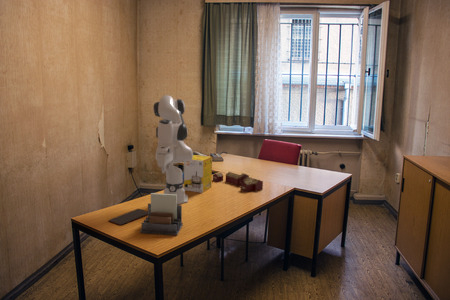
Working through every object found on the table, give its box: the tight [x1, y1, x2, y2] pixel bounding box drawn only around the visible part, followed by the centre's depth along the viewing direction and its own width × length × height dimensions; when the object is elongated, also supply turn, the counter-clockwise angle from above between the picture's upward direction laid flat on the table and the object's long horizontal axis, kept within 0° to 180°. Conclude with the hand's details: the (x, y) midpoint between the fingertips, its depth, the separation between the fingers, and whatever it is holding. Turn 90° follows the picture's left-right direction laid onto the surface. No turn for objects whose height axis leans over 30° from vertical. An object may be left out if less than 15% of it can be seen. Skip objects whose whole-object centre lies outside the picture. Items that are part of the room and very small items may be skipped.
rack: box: [139, 202, 184, 237], centre depth 209 cm, size 15×21×12 cm
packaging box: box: [183, 154, 213, 194], centre depth 287 cm, size 16×16×25 cm
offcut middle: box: [150, 212, 174, 222], centre depth 210 cm, size 2×13×8 cm, turn 84°
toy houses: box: [212, 171, 264, 193], centre depth 302 cm, size 45×20×10 cm, turn 42°
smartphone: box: [108, 208, 148, 227], centre depth 226 cm, size 12×2×25 cm
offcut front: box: [149, 216, 171, 224], centre depth 206 cm, size 2×12×7 cm, turn 85°
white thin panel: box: [150, 192, 178, 219], centre depth 213 cm, size 2×15×18 cm, turn 84°
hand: (165, 171), depth 214 cm, fingers open, 8 cm apart
